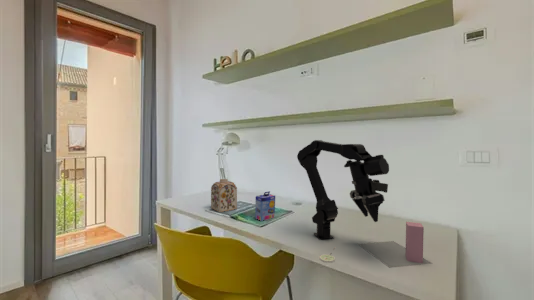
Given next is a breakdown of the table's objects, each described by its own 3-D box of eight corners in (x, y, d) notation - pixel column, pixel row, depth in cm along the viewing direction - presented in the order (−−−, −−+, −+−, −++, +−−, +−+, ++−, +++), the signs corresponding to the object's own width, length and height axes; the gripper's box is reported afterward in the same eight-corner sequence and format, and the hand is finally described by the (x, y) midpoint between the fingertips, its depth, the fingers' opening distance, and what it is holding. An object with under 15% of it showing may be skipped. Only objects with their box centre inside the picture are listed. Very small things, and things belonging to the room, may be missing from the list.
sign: (342, 246, 96) (332, 262, 83) (342, 248, 96) (332, 264, 83) (329, 244, 98) (317, 258, 85) (329, 246, 98) (317, 261, 85)
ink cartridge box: (261, 221, 126) (261, 193, 126) (254, 219, 131) (254, 191, 130) (275, 218, 133) (275, 190, 133) (268, 215, 137) (268, 189, 137)
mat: (357, 244, 98) (357, 243, 98) (393, 241, 101) (393, 240, 101) (389, 268, 80) (389, 267, 80) (432, 264, 83) (432, 263, 83)
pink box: (407, 260, 84) (408, 225, 84) (405, 255, 88) (406, 221, 88) (422, 263, 83) (423, 227, 82) (420, 257, 87) (421, 223, 86)
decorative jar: (210, 208, 152) (210, 178, 151) (227, 205, 159) (227, 177, 158) (219, 212, 142) (219, 181, 142) (237, 209, 149) (237, 179, 149)
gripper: (393, 173, 83) (405, 219, 82) (372, 171, 102) (381, 209, 101) (360, 180, 84) (372, 227, 83) (345, 177, 102) (354, 215, 101)
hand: (371, 218), depth 92 cm, fingers open, 9 cm apart
